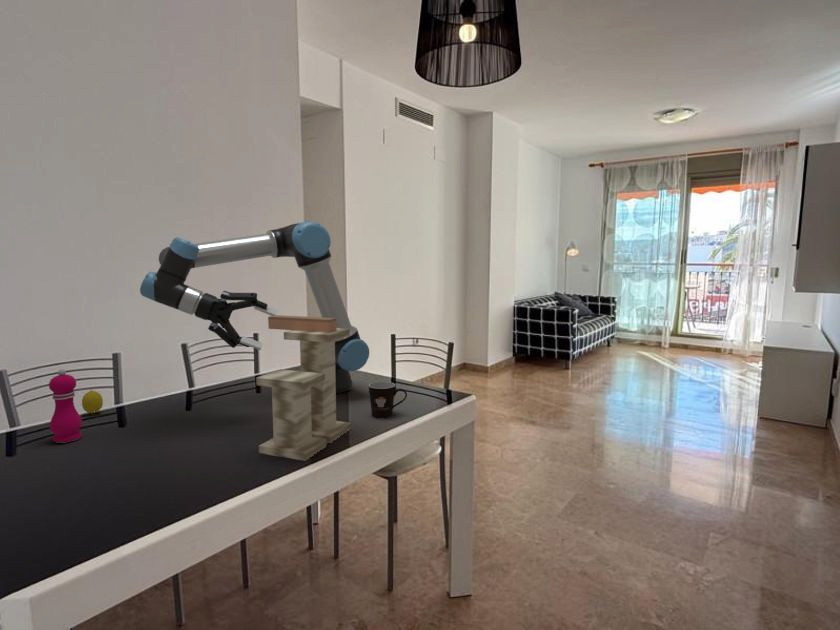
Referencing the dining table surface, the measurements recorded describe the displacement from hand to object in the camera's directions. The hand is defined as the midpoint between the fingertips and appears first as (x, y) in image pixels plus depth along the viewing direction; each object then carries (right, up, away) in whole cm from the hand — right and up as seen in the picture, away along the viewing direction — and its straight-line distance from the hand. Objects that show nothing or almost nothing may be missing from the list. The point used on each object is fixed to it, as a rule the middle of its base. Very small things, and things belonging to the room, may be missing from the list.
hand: (269, 330), depth 148 cm
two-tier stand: (+15, -30, -14) cm, 36 cm away
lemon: (-59, -27, +8) cm, 66 cm away
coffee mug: (+35, -28, +7) cm, 46 cm away
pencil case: (+13, +1, -10) cm, 16 cm away
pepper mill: (-51, -30, -14) cm, 61 cm away
